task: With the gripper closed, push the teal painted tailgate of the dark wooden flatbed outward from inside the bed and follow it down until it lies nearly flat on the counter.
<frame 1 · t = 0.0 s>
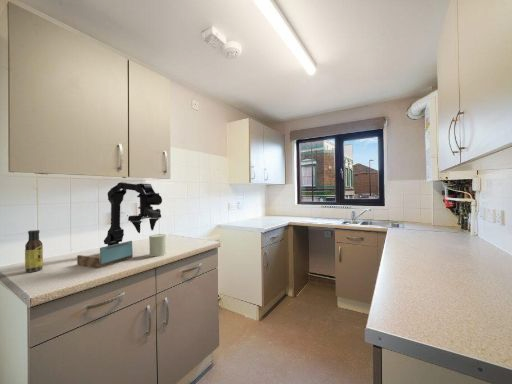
hand: (145, 231, 134), 15 cm above the counter, tool pointing down, fingers open, 9 cm apart
tailgate: (117, 251, 123), point 6 cm above the counter, hinge at 0.0°
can: (157, 254, 138), on the counter
flatbed: (106, 261, 126), on the counter
sauce bottle: (34, 271, 113), on the counter
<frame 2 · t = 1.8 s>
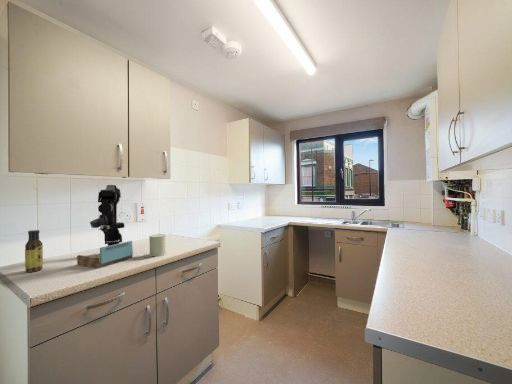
hand: (108, 240, 126), 11 cm above the counter, tool pointing down, fingers closed
nothing on the counter moved.
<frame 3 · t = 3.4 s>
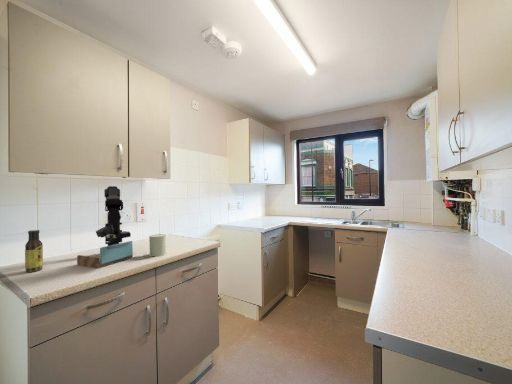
hand: (114, 250, 124), 7 cm above the counter, tool pointing down, fingers closed
tailgate: (117, 251, 123), point 6 cm above the counter, hinge at 1.1°, touching gripper
everything else where it was.
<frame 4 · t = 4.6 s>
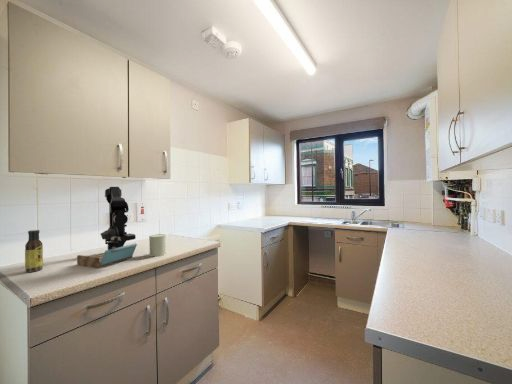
hand: (118, 252, 122), 6 cm above the counter, tool pointing down, fingers closed, pressing on tailgate
tailgate: (119, 253, 122), point 5 cm above the counter, hinge at 30.4°, touching gripper
everything else where it was.
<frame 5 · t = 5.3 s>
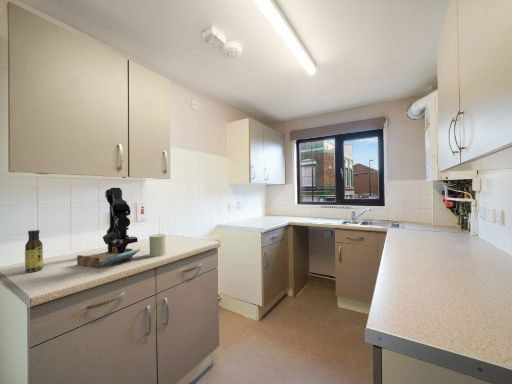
hand: (121, 255, 122), 4 cm above the counter, tool pointing down, fingers closed, pressing on tailgate
tailgate: (121, 257, 122), point 3 cm above the counter, hinge at 59.3°, touching gripper
everything else where it was.
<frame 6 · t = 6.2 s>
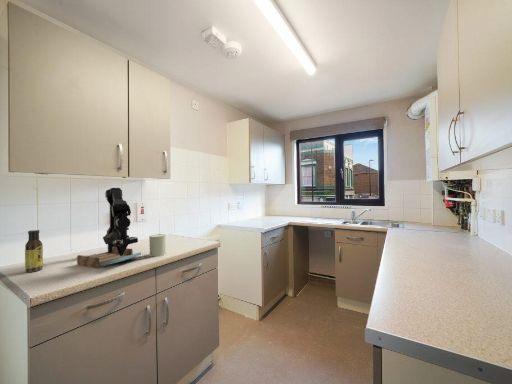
hand: (121, 255, 122), 4 cm above the counter, tool pointing down, fingers closed
tailgate: (121, 259, 122), point 2 cm above the counter, hinge at 76.2°
everything else where it was.
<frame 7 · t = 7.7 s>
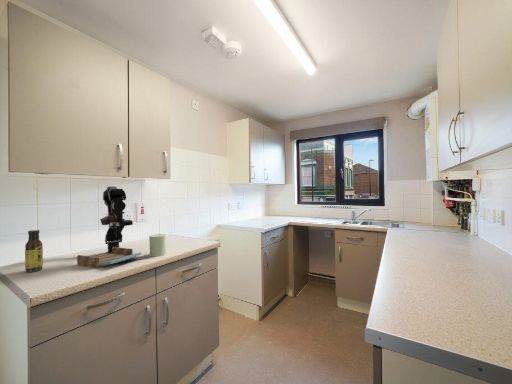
hand: (117, 237, 132), 12 cm above the counter, tool pointing down, fingers closed
nothing on the counter moved.
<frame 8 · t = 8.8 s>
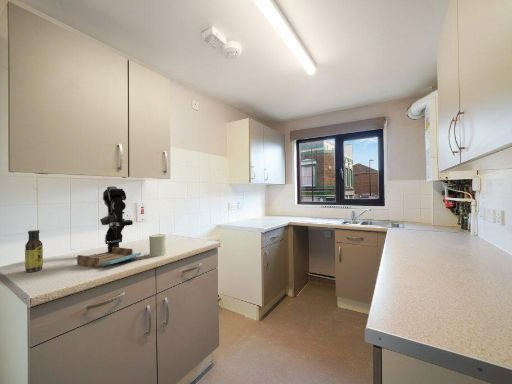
hand: (117, 237, 132), 12 cm above the counter, tool pointing down, fingers closed
nothing on the counter moved.
at the end: tailgate at +76° (first picture: +0°); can moved 0.2 cm from its start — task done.
